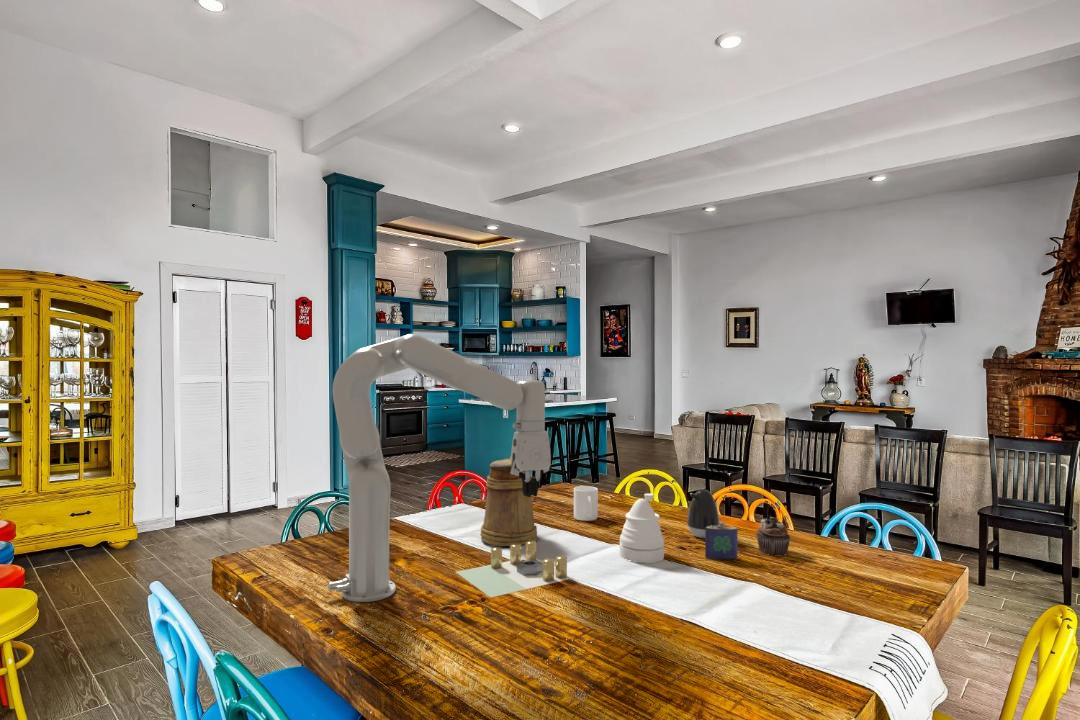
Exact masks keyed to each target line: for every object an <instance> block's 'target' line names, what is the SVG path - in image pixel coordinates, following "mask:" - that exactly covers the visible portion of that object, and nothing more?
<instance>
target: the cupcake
mask: <svg viewBox="0 0 1080 720" xmlns="http://www.w3.org/2000/svg"><path fill="white" fill-rule="evenodd" d="M760 523H761V525H759V526H758V527H759V528H758V530H756V532H755V536H756V540H757V544H758V551H759V552H760V553H761V552H762V554H763V553H764V555H766V554H769V555H768V556H771V555H784V556H786V555H787V554H788V551H789V546H790V542H791V536H790V535H789V532H788V530H787V528H786V526H784V523H783V522H781V521H779V518H777V517H776V518H775V517H773V518H769V517H763V518H762V519H761V520H760ZM785 554H786V555H785Z"/></svg>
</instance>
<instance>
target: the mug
mask: <svg viewBox="0 0 1080 720" xmlns="http://www.w3.org/2000/svg"><path fill="white" fill-rule="evenodd" d="M598 494H599V489H598V487H595V486H591V485H590V486H589V485H579V486H575V487H573V518H574V519H575V520H577V521H581V522H591V521H595V520H597V519H598V516H599V512H598V511H599V509H598V508H599V506H598V505H599V501H598V499H599V495H598Z"/></svg>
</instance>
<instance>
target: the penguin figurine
mask: <svg viewBox="0 0 1080 720" xmlns="http://www.w3.org/2000/svg"><path fill="white" fill-rule="evenodd" d="M689 496H690V497H692V500H691V502H690V504H689V508H688V513H687V521H686V522H687V523H686V524H687V526H688V531H690V533H691V534H692V535H693V536H694V537H697V538H698V537H699V538H698V539H705V528H706V527H708V526H711V525H712V526H714V525H715V526H714V527H716V526H718V525H720V522H721V521H720V516H719V514H720V513H719V510H718V506H717V504H716V503H717V502H716V501H715V499H714V496H713V494H712V493H711V492H710V491H709V490H708V489H705V488H704V489H698V490H697V491H696V492H695V493H693V492H691V493H689Z"/></svg>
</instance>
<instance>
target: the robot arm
mask: <svg viewBox="0 0 1080 720" xmlns="http://www.w3.org/2000/svg"><path fill="white" fill-rule="evenodd" d="M406 369H410V370H413V371H415V372H416V373H419V374H421V375H423V376H426V377H427V378H429V379H432V380H434V381H436V382H438V383H440V384H442V385H444V386H447V387H449V388H451V389H454V390H457V391H461V392H465V393H467V394H469V395H472V396H475V397H477V398H479V399H481V400H484V401H486V402H489V404H490V405H491V406H494V407H496V408H499V409H501V410H505V411H512V410H515V409H516V420H515V422H513V424H512V429H515V431H514V433H513V437H512V442H511V443H512V444H511V453H510V457H511V466H512V468H511V472H510V473H511V474H513V475H516V476H518V477H519V478H520V479H521V480H522V492H523V495H524V496H527V497H531V498H532V496H533V497H538V492H539V481H540V480H541V477H542V476H543V474H545V473H547V472H549V471H550V468H551V464H552V463H551V461H552V460H551V459H552V458H551V457H552V454H551V446H550V445H551V444H550V437H549V434H548V431H547V430H545V429H546V428H545V427H546V426H545V423H546V422H545V421H546V420H545V418H546V416H545V415H546V414H545V412H546V411H545V410H546V408H545V407H546V405H545V402H546V401H545V400H546V396H545V395H546V385H545V383H544V381H542V380H539V379H537V380H534V379H532V380H531V379H525V380H518V381H517V380H513V379H510V378H508V377H506V376H505V375H503V374H500V373H498V372H496V371H494V370H492V369H489V368H487V367H485V366H483V365H481V364H478V363H477V362H475V361H473V360H471V359H469V358H467V357H465V356H462V355H461V354H459V353H457V352H455V351H453V350H450V349H448V348H446V347H444V346H442V345H440V344H438V343H437V342H436V343H435V342H433V341H432V340H430V339H428V338H426V337H424V336H422V335H421V336H420V335H419V334H415V333H408V334H406V335H402V336H399V337H396V338H393V339H390V340H386V341H383V342H380V343H376V344H372V345H368V346H366V347H365V346H364V347H361V348H358V349H357V350H355V351H354V352H353V353H351V354H350V355H349V356H348V357H347V358H346V359H345V360H344V361H343V362H342V363H341V364H340V366H339V367H338V369H337V371H336V373H335V375H334V379H333V382H332V399H333V405H334V411H335V416H336V421H337V426H338V427H337V428H338V431H339V432H338V433H339V444H340V447H341V450H342V455H343V459H344V464H345V468H346V473H347V478H348V505H349V506H348V573H346V574H345V575H344V576H345V578H342V579H341V580H338V581H337V580H336V581H331V582H330V581H329V582H328V585H327V586H328V591H329V592H331V591H336V592H337V593H339V592H342V593H341V595H342V598H344V599H345V600H346V601H349V602H353V603H356V602H357V603H369V602H371V603H372V602H377V601H381V600H385V599H386V598H389V597H390V596H392V595H393V594H394V593H395V592H396V589H397V588H396V584H395V582H393V581H392V580H390V509H391V507H390V505H391V479H390V475H389V473H388V470H387V469H386V465H385V461H384V455H383V451H382V446H381V441H380V432H379V429H378V428H377V424H376V420H375V416H374V413H373V407H372V400H371V395H370V389H371V386H372V384H373V382H375V381H376V380H377V379H379V378H381V377H383V376H388V375H391V374H394V373H397V372H400V371H404V370H406ZM518 469H519V470H520V471H518ZM529 475H530V477H529ZM530 478H531V479H530Z"/></svg>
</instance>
